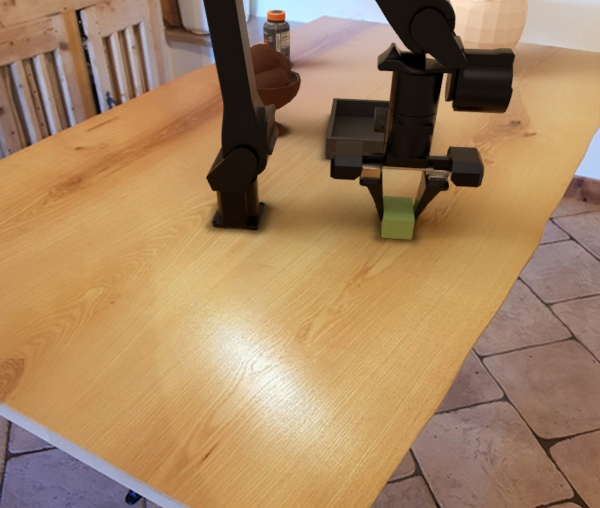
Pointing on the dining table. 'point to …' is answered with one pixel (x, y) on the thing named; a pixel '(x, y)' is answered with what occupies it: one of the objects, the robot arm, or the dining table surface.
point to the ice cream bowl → (274, 78)
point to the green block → (398, 217)
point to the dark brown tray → (354, 124)
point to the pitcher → (489, 22)
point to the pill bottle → (277, 32)
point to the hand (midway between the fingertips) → (397, 220)
